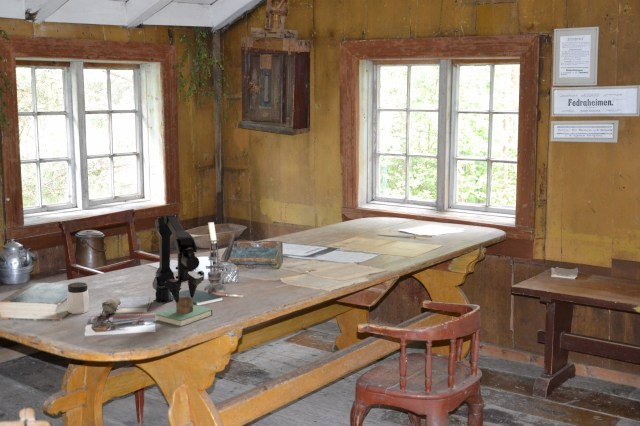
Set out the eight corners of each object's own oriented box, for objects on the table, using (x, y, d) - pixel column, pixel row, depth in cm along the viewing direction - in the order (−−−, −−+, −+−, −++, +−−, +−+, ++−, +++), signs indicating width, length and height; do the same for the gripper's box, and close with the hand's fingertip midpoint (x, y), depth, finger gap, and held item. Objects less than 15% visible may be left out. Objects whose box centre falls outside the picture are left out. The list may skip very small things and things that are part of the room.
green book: (188, 310, 366) (188, 303, 365) (212, 315, 358) (212, 309, 358) (156, 321, 349) (156, 314, 349) (180, 327, 342) (180, 320, 341)
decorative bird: (124, 309, 364) (124, 293, 363) (109, 320, 349) (109, 303, 347) (112, 308, 365) (112, 292, 364) (97, 319, 349) (97, 302, 348)
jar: (92, 311, 360) (91, 285, 357) (75, 315, 354) (74, 288, 352) (81, 307, 366) (80, 281, 363) (64, 310, 360) (63, 284, 358)
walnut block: (184, 309, 357) (184, 295, 356) (193, 311, 354) (192, 297, 353) (176, 312, 353) (176, 298, 352) (185, 314, 350) (185, 300, 349)
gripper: (183, 271, 338) (183, 308, 340) (213, 263, 353) (213, 298, 356) (163, 267, 344) (164, 303, 346) (193, 259, 359) (193, 294, 362)
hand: (184, 300), depth 352 cm, fingers open, 9 cm apart
